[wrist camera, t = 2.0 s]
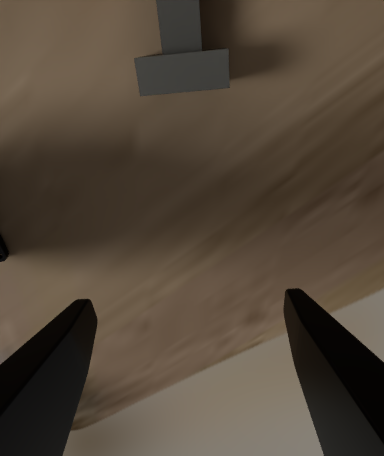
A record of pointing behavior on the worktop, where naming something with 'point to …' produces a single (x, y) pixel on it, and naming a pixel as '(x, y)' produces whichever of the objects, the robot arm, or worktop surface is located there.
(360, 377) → the robot arm
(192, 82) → the plug
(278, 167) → the worktop surface
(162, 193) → the worktop surface
